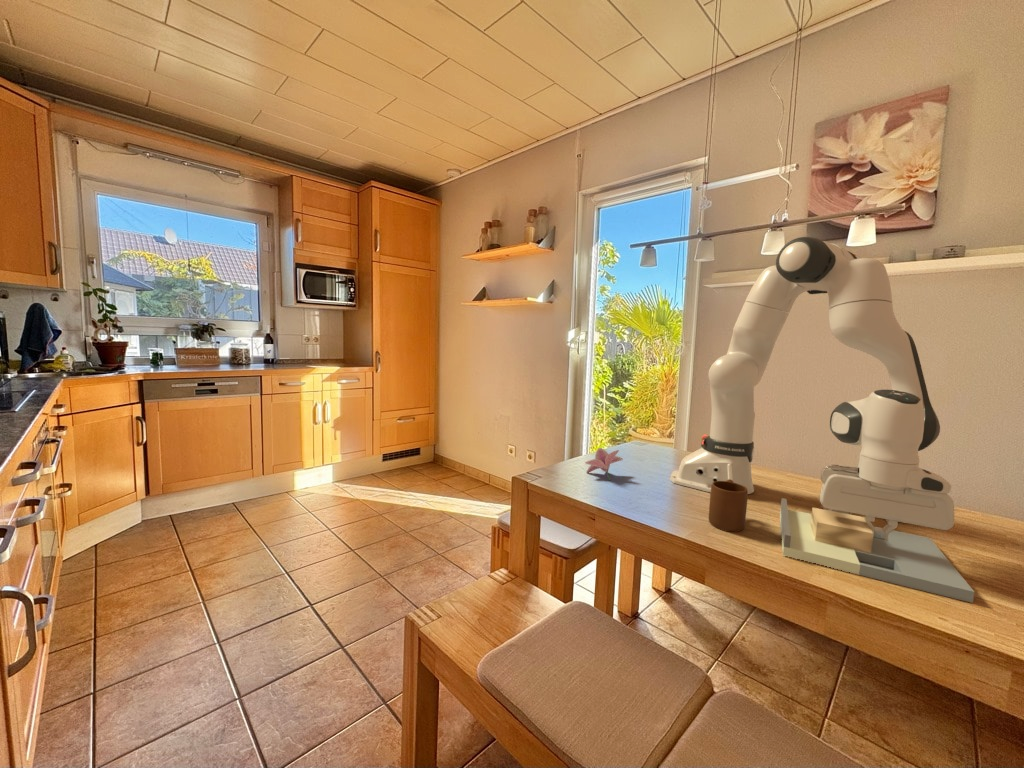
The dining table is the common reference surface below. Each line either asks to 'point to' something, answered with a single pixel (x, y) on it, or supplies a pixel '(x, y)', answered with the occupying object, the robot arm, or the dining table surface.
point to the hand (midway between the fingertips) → (877, 538)
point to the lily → (603, 460)
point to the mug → (728, 505)
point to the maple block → (841, 529)
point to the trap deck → (877, 557)
